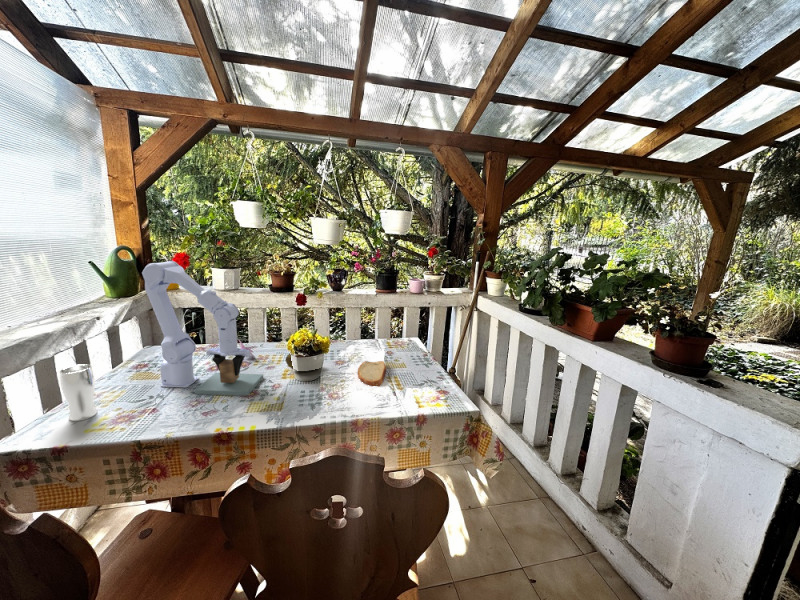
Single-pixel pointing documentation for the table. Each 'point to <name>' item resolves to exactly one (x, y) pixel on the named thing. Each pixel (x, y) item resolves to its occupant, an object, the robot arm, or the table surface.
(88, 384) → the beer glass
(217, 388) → the slate board
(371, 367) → the slice of bread
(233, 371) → the walnut block
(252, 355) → the lily
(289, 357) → the potato
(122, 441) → the table surface
